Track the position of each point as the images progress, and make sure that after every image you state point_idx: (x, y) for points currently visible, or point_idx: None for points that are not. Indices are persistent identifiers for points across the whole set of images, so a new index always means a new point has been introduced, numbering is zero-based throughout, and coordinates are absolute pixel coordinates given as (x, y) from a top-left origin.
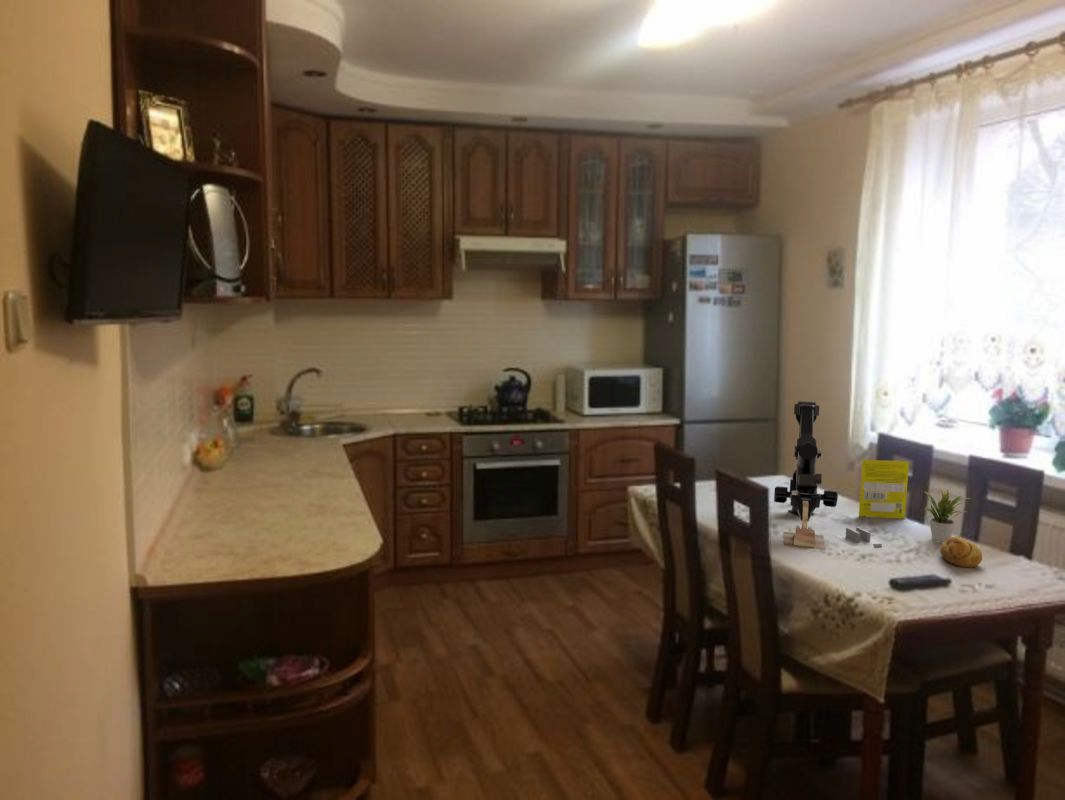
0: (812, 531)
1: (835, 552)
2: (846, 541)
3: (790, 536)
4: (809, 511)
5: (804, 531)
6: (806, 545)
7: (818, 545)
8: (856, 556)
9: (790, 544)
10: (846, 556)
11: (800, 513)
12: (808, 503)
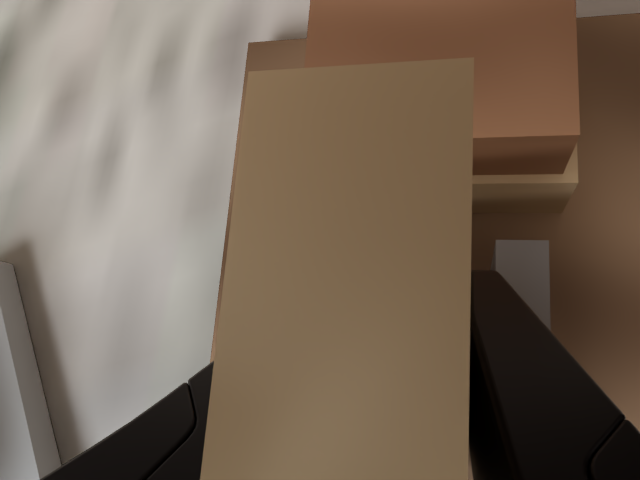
0: (334, 50)
1: (176, 101)
2: (4, 372)
3: None
4: None
5: (446, 9)
6: None
7: None
8: (44, 58)
9: (602, 72)
10: (116, 30)
11: (528, 322)
12: (241, 143)
